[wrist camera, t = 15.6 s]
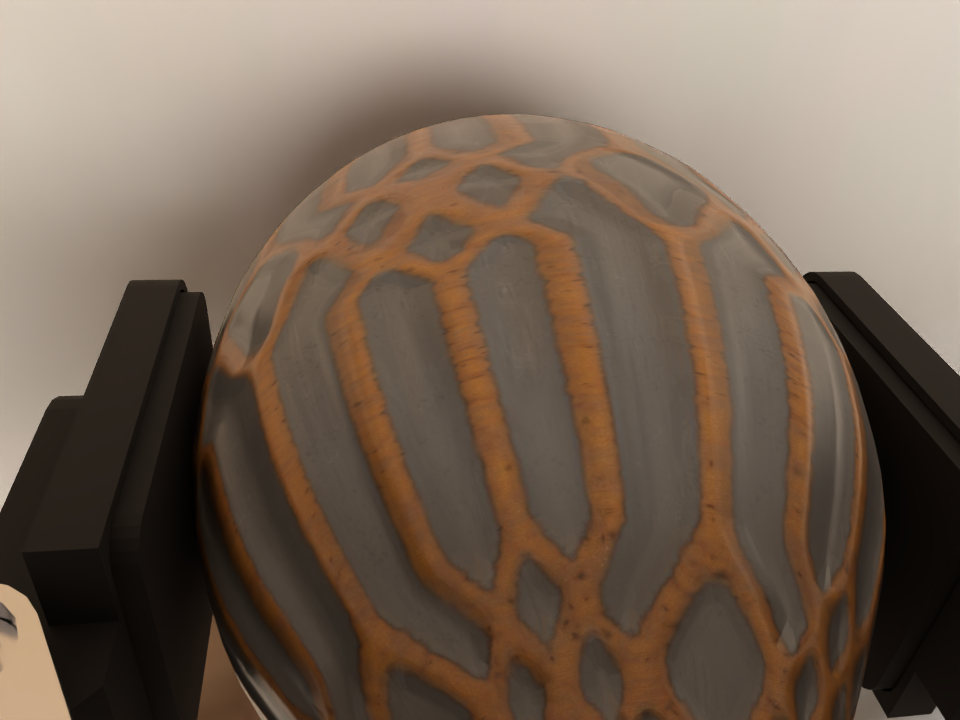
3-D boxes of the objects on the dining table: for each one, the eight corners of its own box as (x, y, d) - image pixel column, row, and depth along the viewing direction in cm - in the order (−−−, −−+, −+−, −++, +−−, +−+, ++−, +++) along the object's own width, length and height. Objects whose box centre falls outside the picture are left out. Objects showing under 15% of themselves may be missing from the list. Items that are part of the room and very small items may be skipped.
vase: (129, 173, 11) (-290, 1006, 4) (647, -53, 10) (1405, 434, 3) (364, 514, 15) (387, 1219, 8) (745, 372, 14) (1159, 1006, 7)
